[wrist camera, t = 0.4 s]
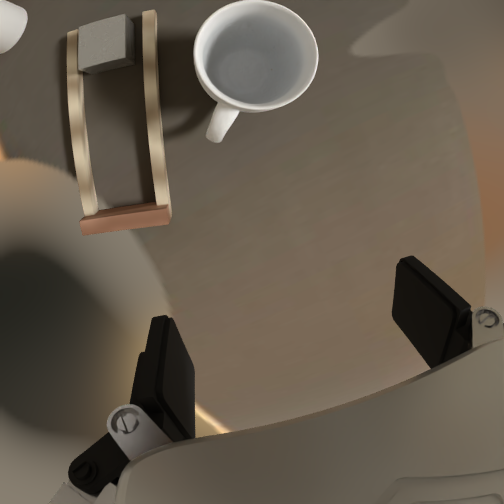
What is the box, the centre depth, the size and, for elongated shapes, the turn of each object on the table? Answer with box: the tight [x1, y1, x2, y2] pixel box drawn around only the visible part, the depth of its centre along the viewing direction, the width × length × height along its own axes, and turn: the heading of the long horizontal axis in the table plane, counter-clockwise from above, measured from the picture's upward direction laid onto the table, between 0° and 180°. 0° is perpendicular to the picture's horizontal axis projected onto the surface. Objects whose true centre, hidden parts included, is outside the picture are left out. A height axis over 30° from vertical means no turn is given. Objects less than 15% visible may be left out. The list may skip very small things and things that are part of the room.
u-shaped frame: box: [67, 10, 172, 235], centre depth 31 cm, size 28×12×4 cm, turn 3°
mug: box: [193, 0, 318, 143], centre depth 27 cm, size 15×11×13 cm
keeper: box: [78, 14, 135, 74], centre depth 26 cm, size 6×6×5 cm
